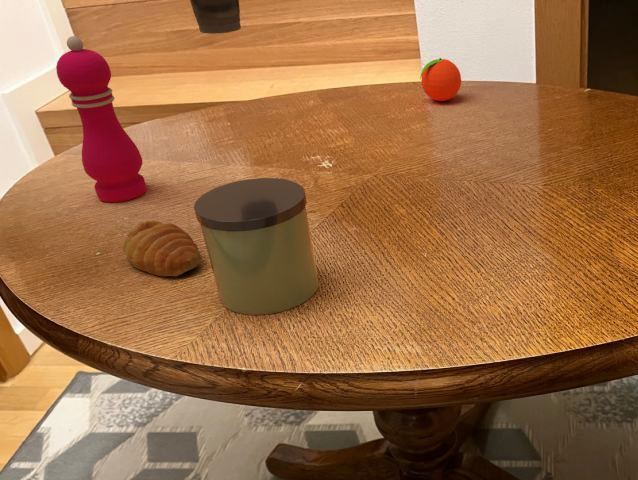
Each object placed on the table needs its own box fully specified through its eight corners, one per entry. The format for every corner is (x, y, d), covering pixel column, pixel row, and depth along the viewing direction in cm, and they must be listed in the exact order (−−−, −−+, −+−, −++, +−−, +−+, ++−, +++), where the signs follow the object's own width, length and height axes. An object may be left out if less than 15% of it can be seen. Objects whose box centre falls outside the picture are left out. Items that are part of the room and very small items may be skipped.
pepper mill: (83, 203, 96) (26, 43, 85) (113, 182, 102) (64, 30, 91) (132, 205, 95) (81, 43, 84) (160, 184, 101) (116, 29, 90)
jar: (201, 288, 76) (176, 198, 70) (289, 256, 81) (272, 169, 76) (246, 328, 69) (223, 232, 64) (339, 289, 75) (325, 197, 69)
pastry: (219, 263, 80) (211, 232, 78) (164, 288, 76) (153, 256, 74) (174, 241, 86) (164, 210, 84) (120, 263, 82) (109, 232, 80)
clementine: (434, 110, 124) (431, 66, 120) (410, 102, 128) (406, 60, 124) (470, 100, 128) (468, 57, 124) (445, 92, 132) (443, 51, 128)
